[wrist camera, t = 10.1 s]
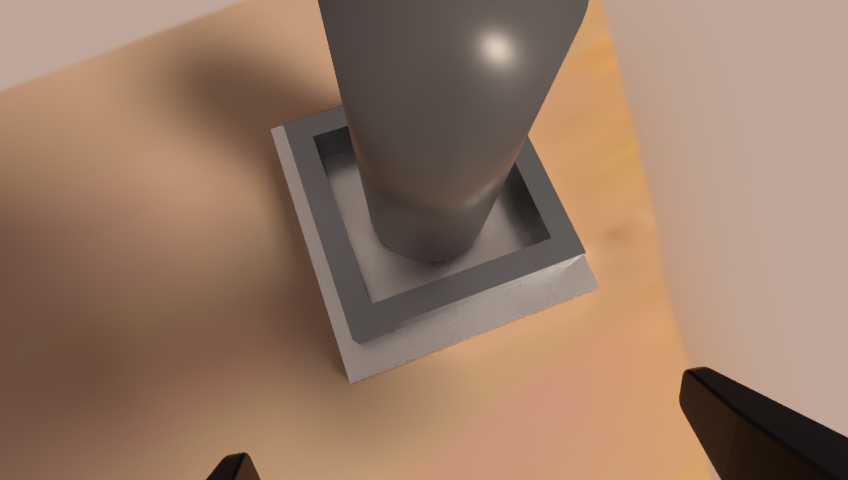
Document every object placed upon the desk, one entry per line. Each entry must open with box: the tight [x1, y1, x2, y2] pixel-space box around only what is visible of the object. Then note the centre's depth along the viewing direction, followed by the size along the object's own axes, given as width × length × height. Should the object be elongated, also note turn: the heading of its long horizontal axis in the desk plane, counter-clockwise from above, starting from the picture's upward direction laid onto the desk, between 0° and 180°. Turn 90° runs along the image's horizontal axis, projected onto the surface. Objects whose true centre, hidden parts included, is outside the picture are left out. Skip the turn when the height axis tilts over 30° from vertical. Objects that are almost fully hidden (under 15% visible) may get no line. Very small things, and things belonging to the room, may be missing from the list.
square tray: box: [270, 105, 599, 384], centre depth 20 cm, size 12×11×3 cm
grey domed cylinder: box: [318, 0, 589, 262], centre depth 14 cm, size 5×5×12 cm
